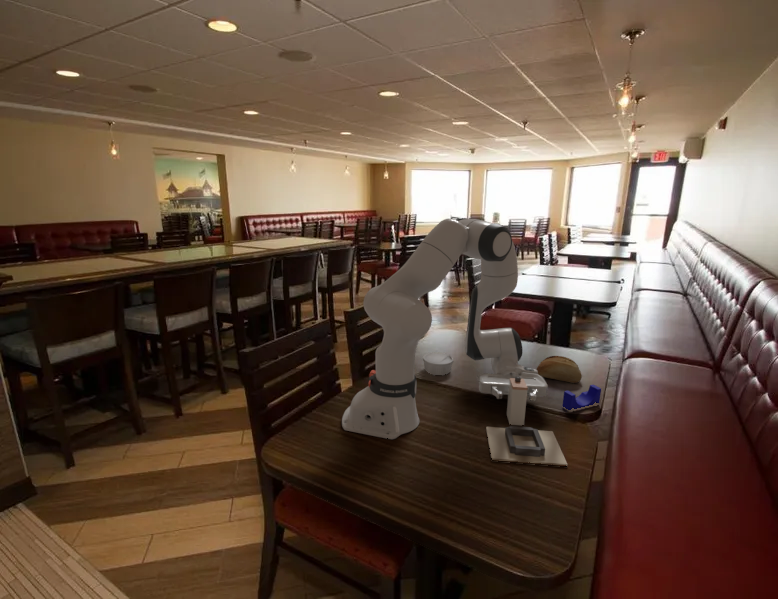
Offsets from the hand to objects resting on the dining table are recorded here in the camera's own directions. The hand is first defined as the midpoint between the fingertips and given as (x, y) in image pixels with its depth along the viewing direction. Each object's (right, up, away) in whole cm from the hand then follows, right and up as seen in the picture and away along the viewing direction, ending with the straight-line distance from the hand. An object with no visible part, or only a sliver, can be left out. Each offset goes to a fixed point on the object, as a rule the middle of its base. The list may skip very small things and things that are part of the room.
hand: (516, 397), depth 117 cm
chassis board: (-2, -10, -11) cm, 15 cm away
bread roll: (+24, 0, +28) cm, 36 cm away
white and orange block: (0, -7, +1) cm, 7 cm away
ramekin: (-19, +2, +34) cm, 39 cm away
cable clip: (+22, -5, +9) cm, 25 cm away
